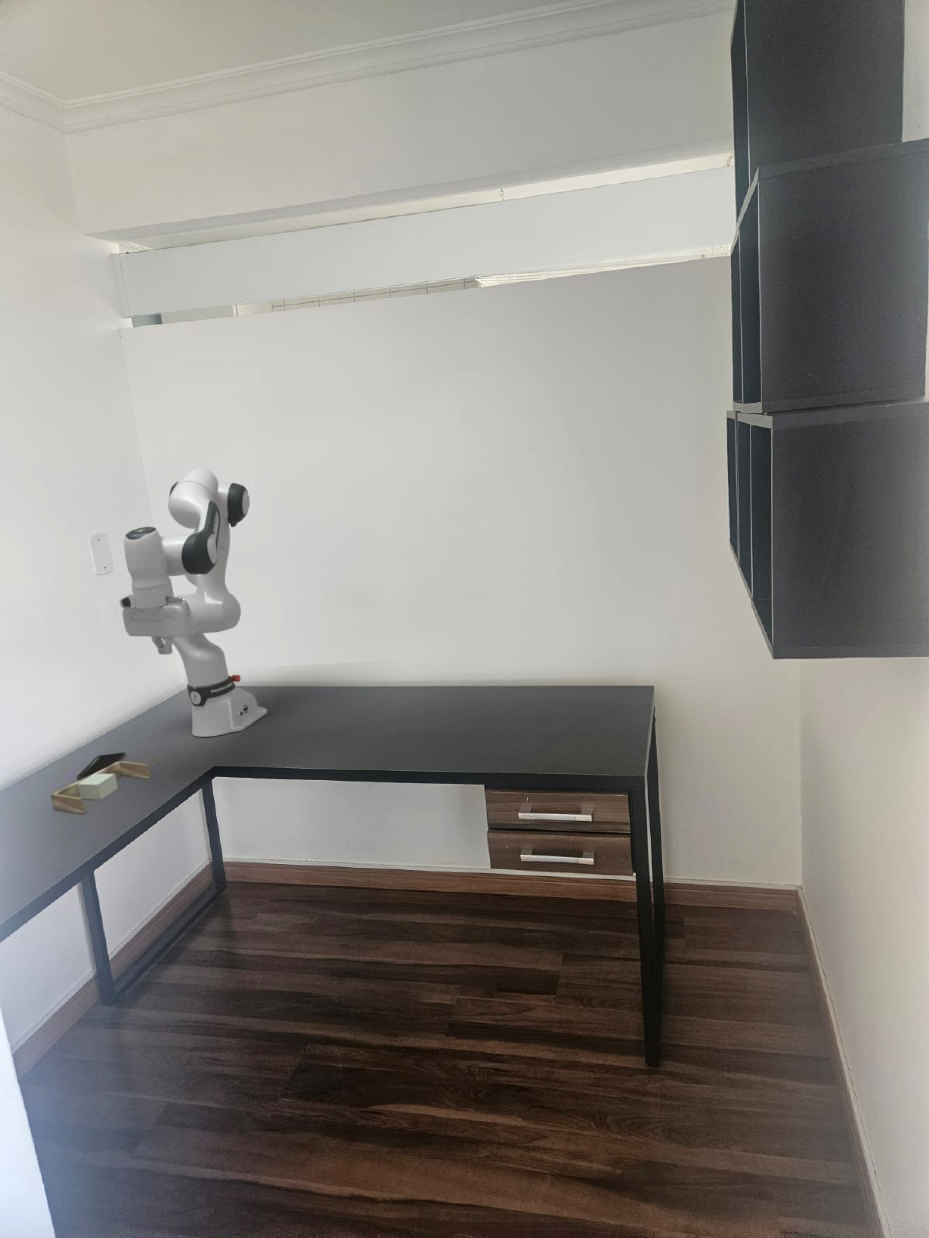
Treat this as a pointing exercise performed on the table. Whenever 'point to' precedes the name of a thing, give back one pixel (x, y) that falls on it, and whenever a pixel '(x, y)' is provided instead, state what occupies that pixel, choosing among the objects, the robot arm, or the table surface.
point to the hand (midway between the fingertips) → (165, 653)
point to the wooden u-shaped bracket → (70, 795)
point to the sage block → (97, 786)
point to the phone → (101, 764)
